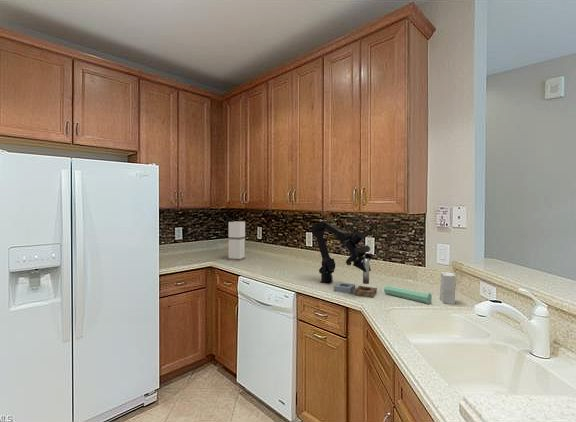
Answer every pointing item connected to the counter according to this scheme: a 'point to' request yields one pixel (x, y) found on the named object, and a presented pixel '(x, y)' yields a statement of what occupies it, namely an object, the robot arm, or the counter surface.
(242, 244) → the white square tower
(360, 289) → the brown square frame
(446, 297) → the skincare box
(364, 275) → the axle
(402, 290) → the green faceted rod
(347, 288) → the socket block
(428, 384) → the counter surface
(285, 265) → the counter surface
